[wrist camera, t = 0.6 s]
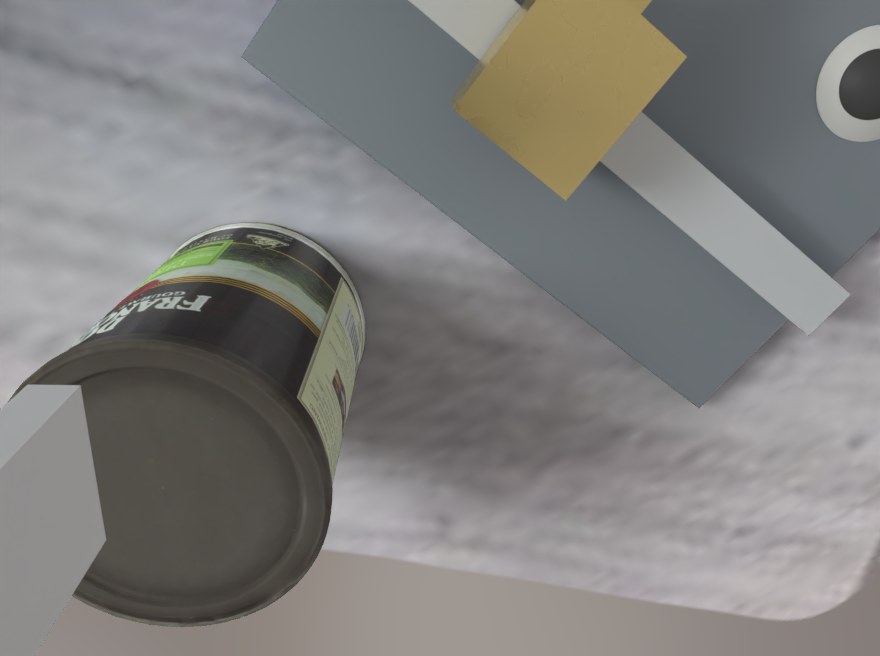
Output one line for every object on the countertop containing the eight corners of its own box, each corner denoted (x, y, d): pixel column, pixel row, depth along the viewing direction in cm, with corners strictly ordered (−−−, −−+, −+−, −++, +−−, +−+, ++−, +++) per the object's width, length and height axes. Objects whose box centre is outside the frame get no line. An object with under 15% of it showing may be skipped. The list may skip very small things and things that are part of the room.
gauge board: (247, 56, 32) (184, 65, 23) (526, -375, 27) (569, -555, 18) (690, 397, 38) (763, 499, 30) (987, 99, 33) (1173, 123, 24)
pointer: (449, 96, 30) (453, 109, 25) (667, -194, 27) (723, -247, 22) (543, 173, 32) (565, 200, 26) (764, -96, 28) (839, -123, 23)
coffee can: (103, 290, 35) (-90, 444, 22) (287, 179, 34) (196, 276, 20) (233, 456, 39) (132, 675, 26) (406, 363, 37) (393, 547, 24)
